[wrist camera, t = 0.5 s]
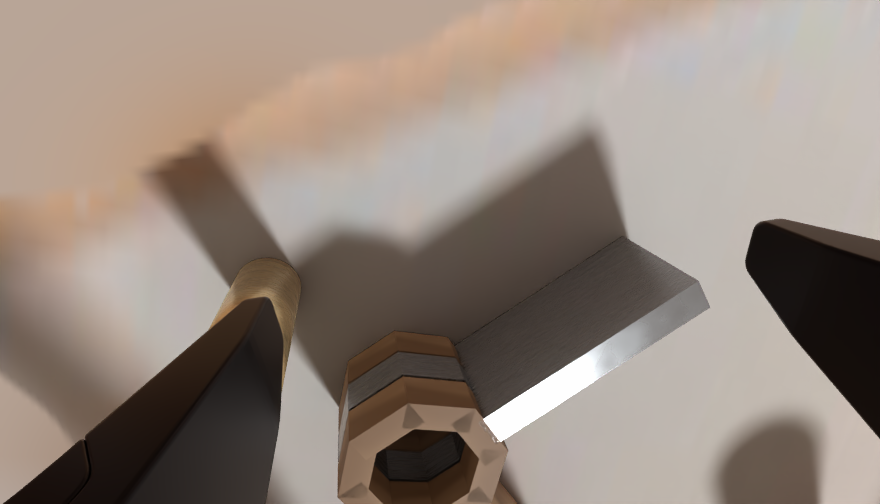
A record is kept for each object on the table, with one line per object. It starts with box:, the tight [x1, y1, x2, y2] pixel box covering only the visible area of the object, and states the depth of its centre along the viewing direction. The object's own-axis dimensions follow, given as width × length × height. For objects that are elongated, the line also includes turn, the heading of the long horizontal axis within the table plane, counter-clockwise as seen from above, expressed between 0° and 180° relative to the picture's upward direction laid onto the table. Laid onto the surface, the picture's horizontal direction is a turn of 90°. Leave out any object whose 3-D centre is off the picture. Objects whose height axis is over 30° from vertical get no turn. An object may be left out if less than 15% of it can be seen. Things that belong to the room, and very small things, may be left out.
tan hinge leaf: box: [338, 331, 517, 504], centre depth 26 cm, size 18×7×6 cm, turn 32°
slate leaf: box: [338, 236, 710, 482], centre depth 24 cm, size 18×7×6 cm, turn 122°
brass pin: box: [209, 258, 301, 392], centre depth 20 cm, size 3×3×8 cm
